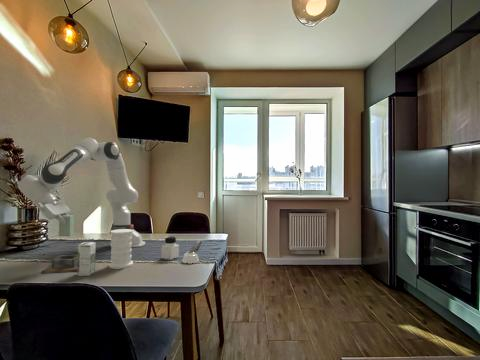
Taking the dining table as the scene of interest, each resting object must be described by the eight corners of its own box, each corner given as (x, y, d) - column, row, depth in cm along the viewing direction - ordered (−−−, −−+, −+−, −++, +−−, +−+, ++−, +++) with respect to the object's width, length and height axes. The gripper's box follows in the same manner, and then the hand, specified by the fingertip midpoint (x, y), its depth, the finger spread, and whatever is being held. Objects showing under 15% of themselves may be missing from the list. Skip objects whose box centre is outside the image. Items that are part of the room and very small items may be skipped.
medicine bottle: (179, 257, 168) (179, 236, 168) (171, 260, 162) (171, 238, 162) (169, 255, 171) (169, 235, 171) (161, 258, 165) (161, 237, 165)
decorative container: (109, 270, 142) (110, 233, 142) (108, 264, 153) (108, 229, 153) (134, 267, 148) (135, 231, 148) (131, 261, 158) (132, 228, 158)
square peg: (73, 234, 150) (74, 215, 150) (69, 236, 145) (70, 216, 145) (63, 234, 149) (63, 215, 149) (58, 236, 144) (59, 216, 144)
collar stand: (89, 262, 156) (89, 252, 156) (78, 271, 140) (78, 260, 140) (56, 263, 153) (56, 253, 153) (41, 272, 137) (41, 262, 137)
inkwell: (178, 262, 156) (179, 244, 156) (194, 254, 173) (194, 238, 173) (194, 264, 153) (194, 245, 153) (208, 256, 170) (208, 239, 170)
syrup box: (82, 272, 138) (82, 241, 138) (95, 272, 139) (95, 241, 139) (76, 276, 133) (77, 244, 133) (90, 276, 133) (90, 244, 133)
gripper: (42, 199, 136) (64, 220, 137) (60, 197, 156) (80, 215, 158) (31, 208, 135) (54, 229, 137) (51, 205, 155) (70, 223, 157)
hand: (68, 221), depth 147 cm, fingers closed on square peg, 5 cm apart
